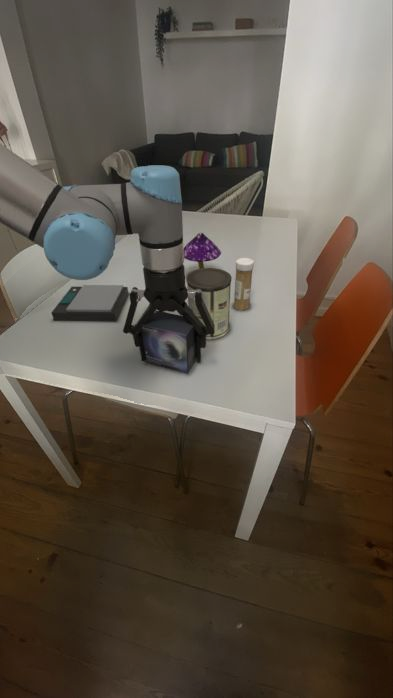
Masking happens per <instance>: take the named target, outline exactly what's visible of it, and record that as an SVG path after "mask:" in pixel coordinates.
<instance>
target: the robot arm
mask: <svg viewBox="0 0 393 698" xmlns="http://www.w3.org/2000/svg"><path fill="white" fill-rule="evenodd" d="M0 224H2V225H3V226H5V227H7V228H9V229H10V230H11V231H13V232H16V233H17V234H19V235H21V236H22V237H24V238H26V239H27V240H29V241H31V242H32V243H34V244H36V245H37V246H39V247H41V249H43V252H44V255H45V258H46V260H47V261H48V263H49V264H50V265H51V266H52V268H54V270H55V271H56V272H57V273H58V274H60V275H62V276H63V277H65V278H67V279H71V280H74V281H75V280H77V281H88V280H92V279H95V278H97V277H99V276H100V275H102V274H103V273H104V272H105V271H106V270H107V269H108V266H109V265H110V261H112V258H113V257H114V252H115V251H116V238H117V236H126V235H127V236H129V235H138V240H139V248H140V249H139V250H140V256H141V257H140V259H141V264H142V266H143V268H142V271H143V279H144V280H143V281H144V287H145V289H139V288H138V287H137V286H134V287H132V288H131V290H130V293H129V295H128V297H129V303H130V304H129V307H128V311H127V315H126V318H125V322H124V325H123V329H122V332H123V333H124V334H129V335H132V338H133V344H134V347H135V348H139V352H140V359H141V362H146V361H145V354H144V347H143V341H142V334H141V327H140V325H145V324H146V323H147V321H148V320H149V318H150V317H151V315H153V313H154V312H155V311H156V310H157V311H159V312H168V313H175V312H177V313H178V315H181V316H183V317H184V318H185V319H186V320H187V321H188V323H189V324H190V325H193V328H194V329H195V331H196V332H197V338H196V339H197V360H196V362H197V363H201V360H202V349H205V348H206V347H207V339H206V336H207V335H208V334H210V335H213V334H214V333H215V325H214V323H213V321H212V318H211V316H210V314H209V312H208V310H207V307H206V305H205V303H204V301H203V298H202V289H201V288H199V287H198V288H196V290H187V285H186V272H185V271H186V269H185V265H184V263H185V258H184V247H185V246H184V230H183V229H184V227H183V200H182V189H181V179H180V173H179V172H178V171H177V169H176V168H175V167H172V166H170V165H160V164H159V165H157V164H154V165H153V164H152V165H150V164H149V165H145V166H137V167H135V168H133V169H132V170H131V172H130V181H129V182H126V183H109V184H106V183H105V184H82V185H81V184H78V183H77V184H72V185H67V186H62V185H60V184H59V183H58V182H57V181H55V180H54V179H52V178H51V177H50V176H48V174H45V173H43V172H42V171H41V170H40V169H38V168H36V167H35V166H34V165H32V164H31V163H29V162H27V160H25V159H23V157H21V156H20V155H18V154H16V153H15V152H14V151H12V150H10V149H9V148H7V147H6V146H5V145H3V144H2V143H0ZM188 297H190V298H191V300H192V301H193V302H195V303H196V307H197V309H198V311H199V313H200V316H201V318H202V320H203V322H204V324H205V326H204V325H203V323H202V322H201V321H200V320H199V319H198V317H197V316H196V315H195V314H194V313H193V312H192V310H191V309H190V308H189V307H188V302H186V300H188ZM143 298H144V299H146V301H147V302H148V306H147V307H146V309H145V310H144V312H143V313H142V315H141V316H140V318H139V319H138V320H137V322H136V323H135V324H134V325H133V321H134V317H135V314H136V311H137V308H138V304H139V302H141V301H142V299H143Z"/></svg>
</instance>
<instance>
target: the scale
mask: <svg viewBox="0 0 393 698" xmlns="http://www.w3.org/2000/svg"><path fill="white" fill-rule="evenodd" d="M129 295H130V293H129V288H128V286H125V285H123V284H83V285H82V286H74V285H73V286H71V287H70V288H69V290H68V291H67V292H66V293H65V295H63V296H62V298H61V299H60V301H59V302H58V303H57V305H56V306H55V307H54V309H52V311H51V312H50V314H51V317H52V319H53V321H57V322H58V321H59V322H60V321H61V322H65V321H66V322H67V321H69V322H73V321H74V322H117V321H118V319H119V317H120V314H121V313H122V310H123V308H124V305H125V304H126V301H127V299H128V297H129Z"/></svg>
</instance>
